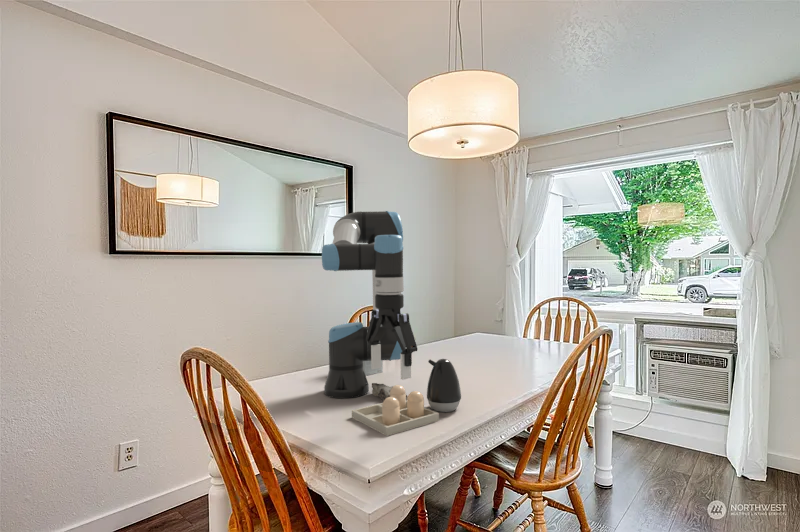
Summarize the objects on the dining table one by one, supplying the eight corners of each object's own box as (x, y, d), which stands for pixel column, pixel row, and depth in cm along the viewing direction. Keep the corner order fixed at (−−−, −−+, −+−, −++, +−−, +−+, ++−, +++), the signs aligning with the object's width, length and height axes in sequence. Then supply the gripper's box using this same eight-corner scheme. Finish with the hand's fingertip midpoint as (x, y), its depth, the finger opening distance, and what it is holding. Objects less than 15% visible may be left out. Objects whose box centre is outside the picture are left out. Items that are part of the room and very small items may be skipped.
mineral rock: (412, 402, 140) (412, 388, 140) (390, 407, 136) (390, 392, 136) (389, 392, 153) (389, 379, 153) (368, 395, 149) (368, 382, 149)
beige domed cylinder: (387, 411, 130) (386, 384, 130) (399, 408, 133) (399, 382, 133) (396, 415, 126) (395, 388, 126) (409, 412, 129) (408, 385, 129)
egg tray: (351, 419, 125) (351, 410, 125) (401, 406, 136) (401, 398, 136) (387, 437, 111) (386, 427, 111) (439, 422, 122) (439, 413, 122)
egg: (379, 426, 118) (378, 396, 118) (393, 422, 121) (392, 393, 121) (389, 431, 114) (388, 400, 114) (403, 427, 117) (402, 397, 117)
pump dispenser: (438, 402, 139) (438, 354, 139) (467, 408, 133) (467, 358, 133) (419, 411, 132) (418, 359, 131) (449, 418, 125) (448, 364, 125)
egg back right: (404, 419, 123) (403, 391, 123) (417, 415, 126) (416, 388, 126) (414, 423, 119) (414, 394, 119) (427, 420, 122) (427, 391, 122)
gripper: (352, 291, 125) (354, 366, 126) (406, 297, 105) (407, 386, 106) (375, 290, 130) (376, 362, 130) (430, 295, 110) (431, 380, 110)
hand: (390, 373), depth 118 cm, fingers open, 13 cm apart
